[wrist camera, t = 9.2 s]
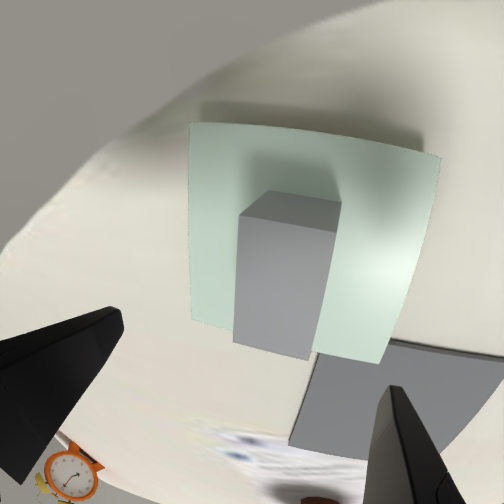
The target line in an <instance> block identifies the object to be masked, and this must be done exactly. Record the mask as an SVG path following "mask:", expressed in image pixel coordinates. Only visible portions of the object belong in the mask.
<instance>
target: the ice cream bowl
mask: <svg viewBox="0 0 504 504" xmlns="http://www.w3.org/2000/svg"><path fill="white" fill-rule="evenodd" d="M301 504H339V503H337V502H336V501H334V500H331V499H325V498H305V499H302V500H301Z"/></svg>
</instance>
